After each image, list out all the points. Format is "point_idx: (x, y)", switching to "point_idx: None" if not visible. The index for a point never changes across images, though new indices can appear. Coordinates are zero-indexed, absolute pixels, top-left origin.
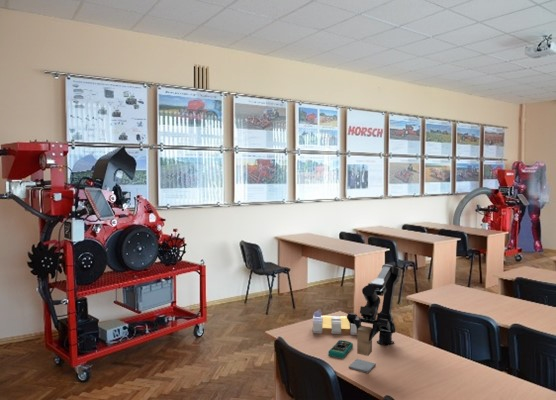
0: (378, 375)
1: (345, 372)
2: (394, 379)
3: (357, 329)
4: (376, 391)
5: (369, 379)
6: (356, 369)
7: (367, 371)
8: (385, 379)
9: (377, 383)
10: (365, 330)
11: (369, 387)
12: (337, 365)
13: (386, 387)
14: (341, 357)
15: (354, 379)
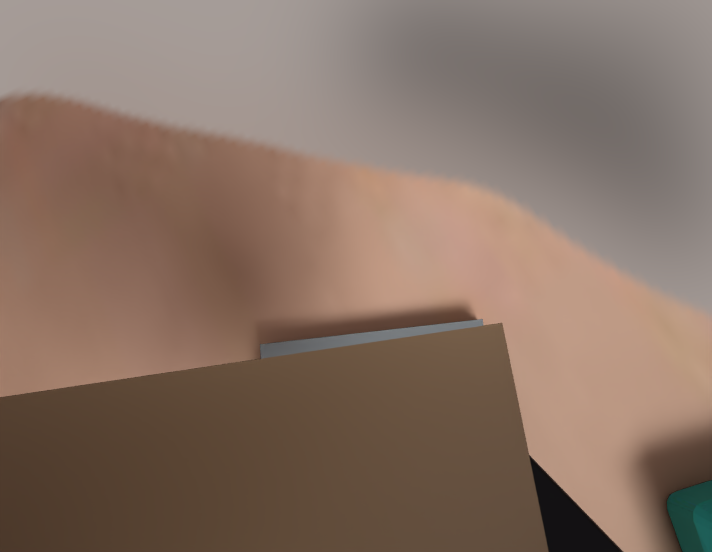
0: (162, 371)
1: (452, 219)
2: (4, 394)
3: (492, 325)
4: (73, 100)
5: (202, 243)
6: (392, 331)
7: (268, 343)
8: (77, 338)
9: (113, 222)
10: (78, 431)
11: (145, 120)
12: (605, 299)
13: (23, 209)
14: (691, 490)
15: (314, 157)
